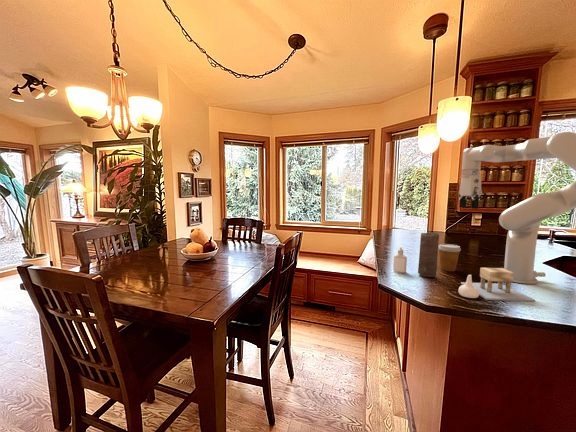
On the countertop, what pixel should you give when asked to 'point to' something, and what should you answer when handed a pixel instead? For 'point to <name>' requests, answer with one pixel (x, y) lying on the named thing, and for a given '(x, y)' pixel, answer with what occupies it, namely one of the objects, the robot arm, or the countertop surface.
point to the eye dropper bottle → (400, 262)
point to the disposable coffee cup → (448, 256)
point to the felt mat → (500, 293)
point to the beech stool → (496, 278)
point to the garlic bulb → (468, 289)
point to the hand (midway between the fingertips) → (468, 207)
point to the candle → (428, 254)
